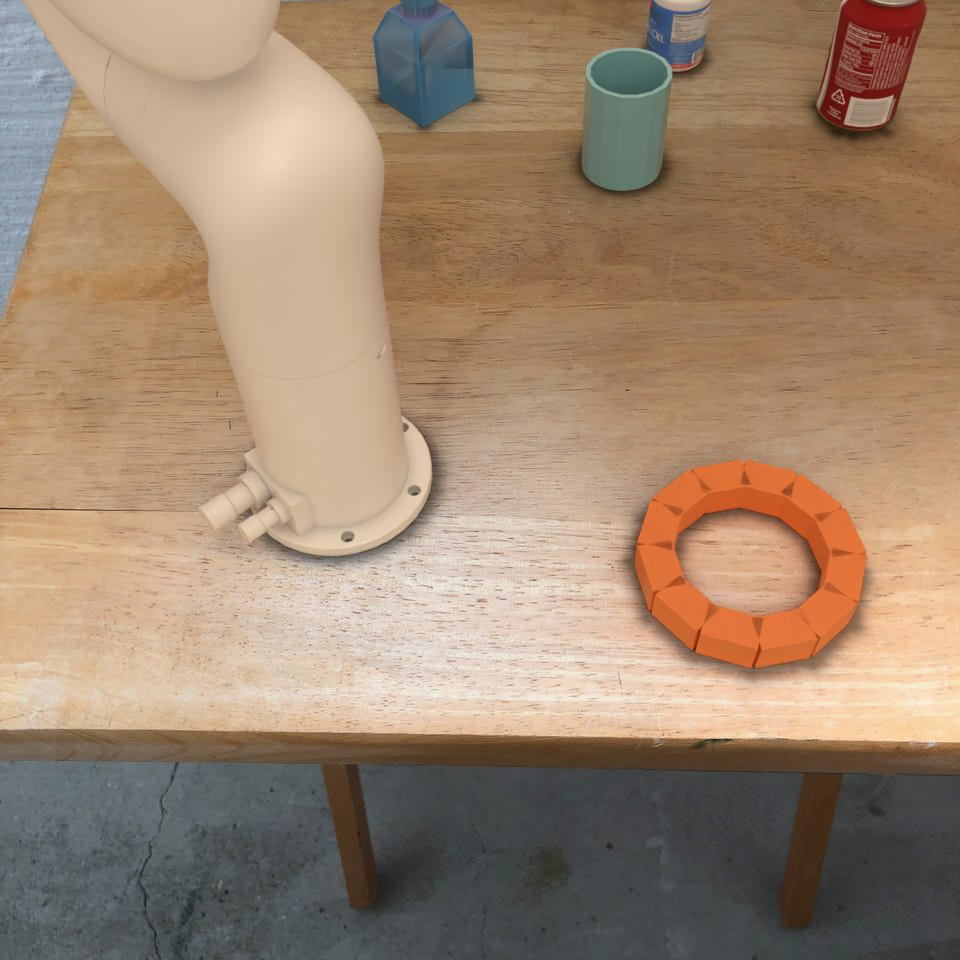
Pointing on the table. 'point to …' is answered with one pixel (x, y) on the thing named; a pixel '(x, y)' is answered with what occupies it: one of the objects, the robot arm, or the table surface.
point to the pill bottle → (678, 31)
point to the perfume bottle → (424, 60)
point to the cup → (625, 118)
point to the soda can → (869, 62)
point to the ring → (731, 629)
